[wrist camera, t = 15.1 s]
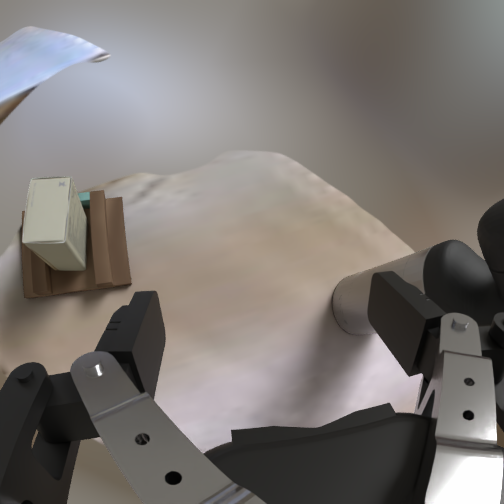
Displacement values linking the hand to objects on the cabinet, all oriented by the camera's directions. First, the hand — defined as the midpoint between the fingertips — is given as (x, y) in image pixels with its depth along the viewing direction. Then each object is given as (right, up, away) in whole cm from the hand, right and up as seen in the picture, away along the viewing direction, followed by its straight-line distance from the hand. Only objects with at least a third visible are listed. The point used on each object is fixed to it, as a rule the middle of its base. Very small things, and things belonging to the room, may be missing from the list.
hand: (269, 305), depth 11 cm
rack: (-23, +2, +22) cm, 32 cm away
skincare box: (-22, +2, +22) cm, 31 cm away
